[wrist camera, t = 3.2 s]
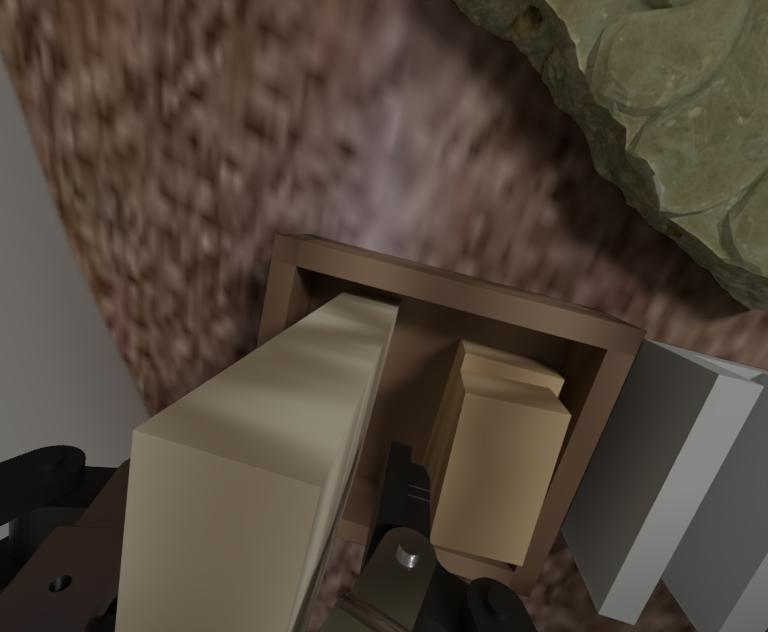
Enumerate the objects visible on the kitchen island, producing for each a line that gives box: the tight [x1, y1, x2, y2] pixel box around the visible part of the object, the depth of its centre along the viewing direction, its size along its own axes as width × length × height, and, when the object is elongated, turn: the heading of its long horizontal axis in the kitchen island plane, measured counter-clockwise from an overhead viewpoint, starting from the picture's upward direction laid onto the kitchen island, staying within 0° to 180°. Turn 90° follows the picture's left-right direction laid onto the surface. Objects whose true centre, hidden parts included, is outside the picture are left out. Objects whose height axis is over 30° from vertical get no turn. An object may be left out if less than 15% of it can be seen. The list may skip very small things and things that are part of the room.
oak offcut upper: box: [430, 369, 571, 566], centre depth 14 cm, size 4×6×2 cm, turn 170°
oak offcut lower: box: [421, 338, 564, 493], centre depth 17 cm, size 4×7×2 cm, turn 166°
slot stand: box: [560, 339, 768, 632], centre depth 16 cm, size 6×11×4 cm, turn 166°
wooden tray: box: [256, 234, 647, 597], centre depth 17 cm, size 14×12×4 cm
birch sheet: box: [115, 286, 402, 632], centre depth 12 cm, size 2×9×13 cm, turn 166°
